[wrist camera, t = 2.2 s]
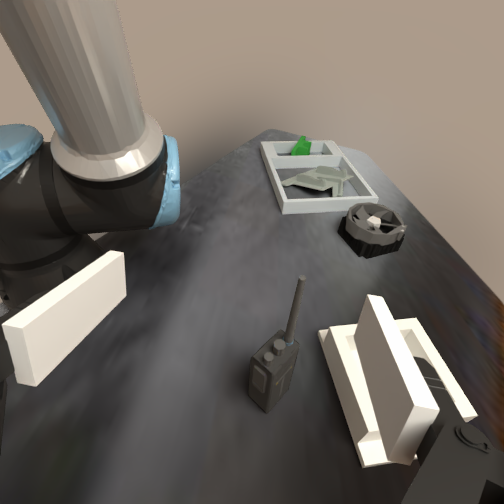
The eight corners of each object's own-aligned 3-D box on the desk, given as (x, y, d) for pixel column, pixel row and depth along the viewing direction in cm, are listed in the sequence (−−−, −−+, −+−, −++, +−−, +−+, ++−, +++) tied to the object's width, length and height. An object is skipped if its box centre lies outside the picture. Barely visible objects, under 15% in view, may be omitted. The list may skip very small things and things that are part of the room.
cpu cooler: (337, 206, 57) (381, 197, 60) (331, 229, 61) (372, 220, 64) (370, 239, 50) (418, 228, 53) (360, 263, 54) (405, 252, 57)
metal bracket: (362, 166, 70) (319, 185, 62) (361, 190, 72) (319, 211, 65) (315, 159, 80) (274, 175, 73) (316, 181, 83) (276, 198, 76)
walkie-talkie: (270, 368, 39) (289, 260, 25) (290, 386, 37) (322, 281, 24) (244, 395, 36) (250, 291, 23) (265, 416, 35) (285, 317, 21)
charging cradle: (317, 334, 43) (324, 313, 39) (395, 326, 44) (408, 305, 41) (362, 467, 31) (377, 455, 28) (464, 450, 33) (491, 437, 29)
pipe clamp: (302, 168, 79) (304, 152, 76) (289, 165, 80) (291, 150, 77) (311, 152, 86) (314, 137, 83) (299, 149, 87) (302, 135, 84)
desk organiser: (260, 152, 85) (260, 141, 83) (330, 150, 88) (332, 140, 86) (282, 214, 64) (283, 202, 62) (374, 209, 66) (378, 198, 64)
